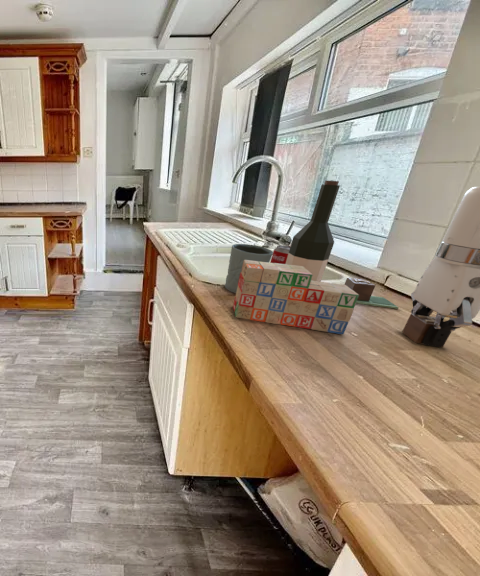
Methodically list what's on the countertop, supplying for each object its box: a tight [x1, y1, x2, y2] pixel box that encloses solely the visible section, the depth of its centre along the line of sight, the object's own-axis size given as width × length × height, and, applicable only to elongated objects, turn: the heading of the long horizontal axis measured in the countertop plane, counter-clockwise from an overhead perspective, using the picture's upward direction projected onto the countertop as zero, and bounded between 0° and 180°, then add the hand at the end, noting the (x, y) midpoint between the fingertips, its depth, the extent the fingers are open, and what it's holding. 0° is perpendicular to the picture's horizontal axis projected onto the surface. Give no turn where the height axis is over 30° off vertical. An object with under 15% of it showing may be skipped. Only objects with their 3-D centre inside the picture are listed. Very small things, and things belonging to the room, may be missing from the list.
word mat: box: [356, 295, 399, 310], centre depth 83 cm, size 11×7×1 cm, turn 75°
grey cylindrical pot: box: [224, 243, 273, 294], centre depth 84 cm, size 10×10×12 cm
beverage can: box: [269, 245, 291, 264], centre depth 87 cm, size 6×6×12 cm
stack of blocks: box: [232, 260, 359, 335], centre depth 67 cm, size 21×6×12 cm, turn 73°
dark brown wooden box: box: [401, 313, 453, 348], centre depth 64 cm, size 5×5×5 cm
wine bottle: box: [286, 180, 341, 282], centre depth 74 cm, size 8×8×30 cm
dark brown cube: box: [343, 277, 376, 301], centre depth 83 cm, size 5×5×5 cm
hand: (422, 337), depth 64 cm, fingers closed on dark brown wooden box, 4 cm apart
